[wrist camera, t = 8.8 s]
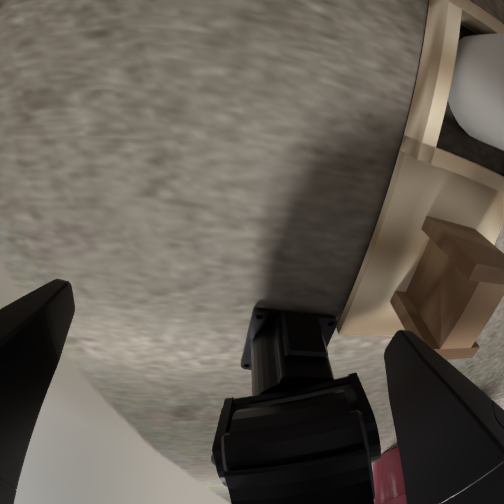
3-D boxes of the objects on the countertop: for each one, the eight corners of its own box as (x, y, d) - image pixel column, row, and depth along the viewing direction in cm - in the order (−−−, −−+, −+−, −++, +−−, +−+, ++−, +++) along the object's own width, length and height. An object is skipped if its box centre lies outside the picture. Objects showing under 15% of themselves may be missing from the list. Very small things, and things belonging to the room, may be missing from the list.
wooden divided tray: (440, 331, 25) (471, 386, 19) (336, 327, 24) (357, 396, 18) (535, 66, 13) (599, 80, 7) (430, -6, 12) (498, -25, 6)
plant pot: (383, 439, 36) (403, 516, 25) (453, 426, 37) (477, 489, 26) (344, 475, 43) (355, 538, 32) (410, 464, 44) (425, 519, 33)
